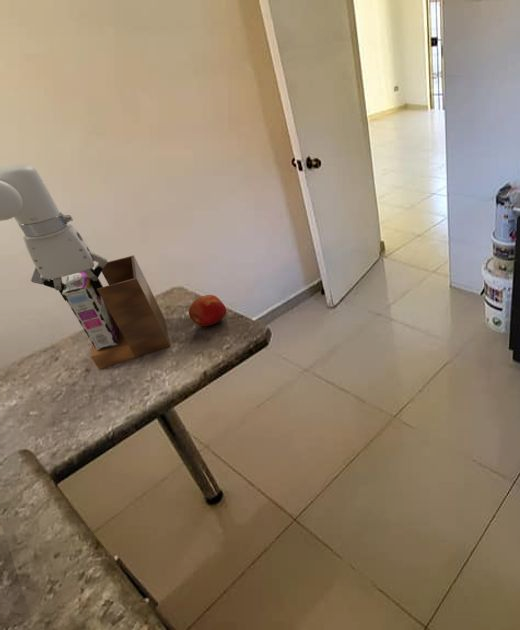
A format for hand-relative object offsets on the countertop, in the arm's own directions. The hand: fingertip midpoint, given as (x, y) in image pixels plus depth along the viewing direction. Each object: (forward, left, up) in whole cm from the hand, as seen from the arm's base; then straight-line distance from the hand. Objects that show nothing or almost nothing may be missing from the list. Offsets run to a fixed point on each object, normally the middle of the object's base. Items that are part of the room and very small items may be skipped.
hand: (86, 297), depth 103 cm
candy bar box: (0, 0, -12) cm, 12 cm away
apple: (+23, -3, -16) cm, 28 cm away
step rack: (+4, 0, -16) cm, 16 cm away
